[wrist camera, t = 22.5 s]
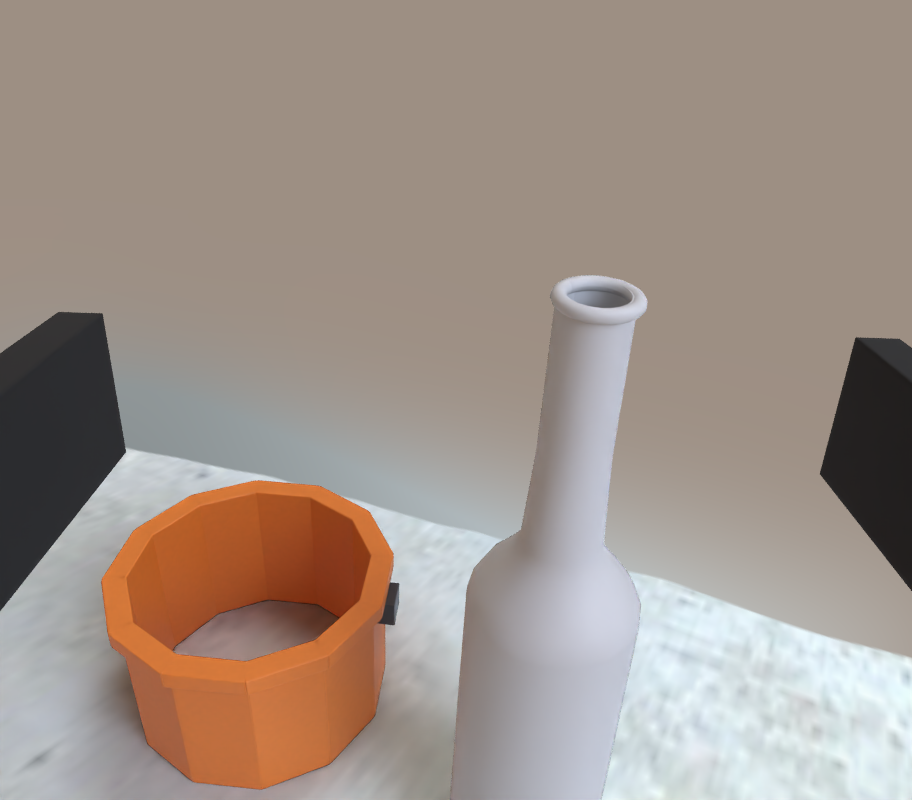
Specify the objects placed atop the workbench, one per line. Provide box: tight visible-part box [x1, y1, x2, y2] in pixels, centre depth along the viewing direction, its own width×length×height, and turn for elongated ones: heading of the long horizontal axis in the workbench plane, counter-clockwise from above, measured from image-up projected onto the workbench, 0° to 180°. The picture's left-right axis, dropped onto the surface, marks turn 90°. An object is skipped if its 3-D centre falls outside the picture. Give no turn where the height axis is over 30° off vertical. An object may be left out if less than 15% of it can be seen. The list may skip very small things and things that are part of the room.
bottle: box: [450, 275, 647, 800], centre depth 30 cm, size 7×7×28 cm
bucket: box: [101, 480, 399, 789], centre depth 42 cm, size 15×14×8 cm
